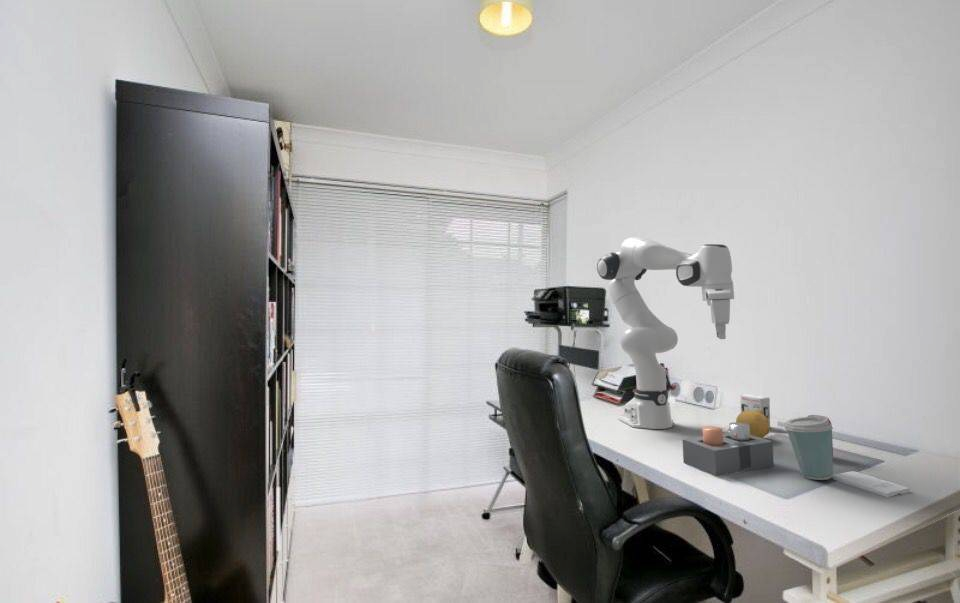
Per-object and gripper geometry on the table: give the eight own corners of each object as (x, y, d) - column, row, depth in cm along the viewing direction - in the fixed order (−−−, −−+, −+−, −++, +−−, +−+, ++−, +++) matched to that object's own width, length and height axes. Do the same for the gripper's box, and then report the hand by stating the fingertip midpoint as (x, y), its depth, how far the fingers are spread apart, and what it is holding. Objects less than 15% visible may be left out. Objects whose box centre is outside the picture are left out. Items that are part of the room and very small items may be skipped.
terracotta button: (699, 451, 131) (698, 427, 131) (713, 449, 133) (712, 425, 133) (713, 456, 126) (712, 431, 126) (728, 454, 128) (726, 429, 128)
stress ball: (733, 441, 156) (742, 428, 148) (731, 415, 162) (739, 402, 154) (765, 447, 153) (776, 434, 146) (762, 421, 159) (772, 407, 151)
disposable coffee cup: (803, 484, 115) (792, 425, 116) (785, 470, 126) (776, 416, 127) (850, 482, 113) (839, 422, 114) (829, 468, 123) (819, 413, 124)
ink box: (740, 425, 171) (738, 394, 171) (749, 424, 173) (747, 393, 174) (762, 431, 163) (760, 398, 163) (771, 429, 165) (770, 397, 166)
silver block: (726, 447, 134) (725, 423, 134) (739, 444, 136) (738, 421, 136) (741, 452, 129) (739, 427, 129) (754, 449, 131) (753, 425, 131)
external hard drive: (854, 476, 120) (910, 494, 108) (832, 481, 118) (887, 499, 106) (854, 470, 120) (910, 487, 108) (832, 474, 118) (886, 492, 106)
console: (683, 462, 134) (682, 439, 134) (738, 453, 140) (737, 431, 140) (715, 476, 122) (714, 450, 122) (773, 465, 128) (772, 441, 129)
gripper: (705, 296, 152) (708, 336, 151) (708, 293, 133) (711, 340, 133) (726, 294, 149) (729, 336, 149) (732, 292, 131) (735, 339, 130)
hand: (721, 338), depth 140 cm, fingers open, 8 cm apart
